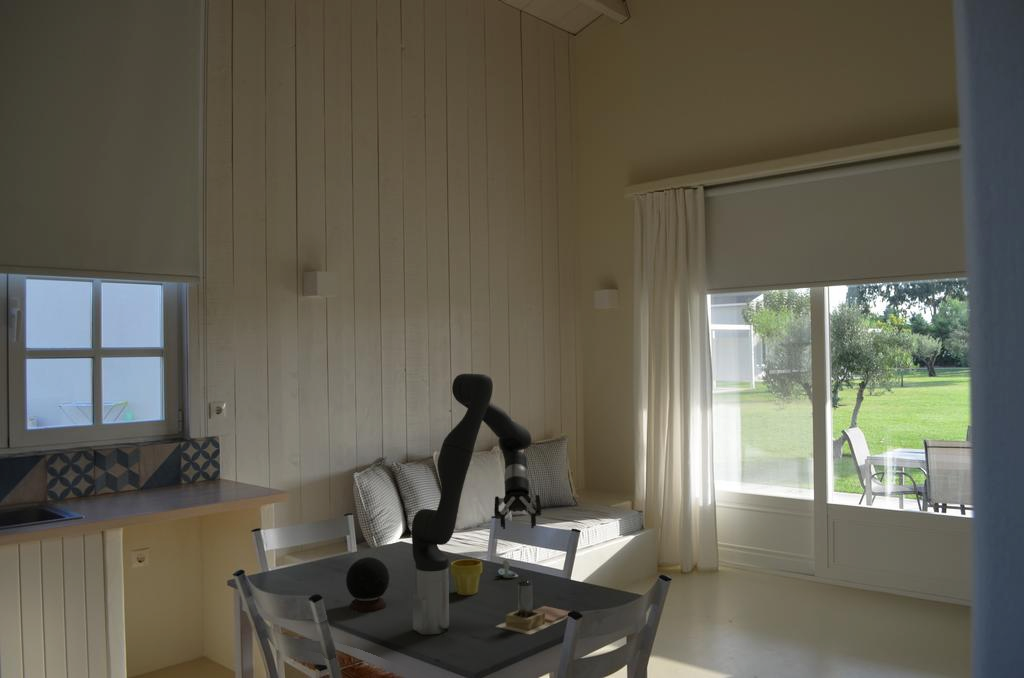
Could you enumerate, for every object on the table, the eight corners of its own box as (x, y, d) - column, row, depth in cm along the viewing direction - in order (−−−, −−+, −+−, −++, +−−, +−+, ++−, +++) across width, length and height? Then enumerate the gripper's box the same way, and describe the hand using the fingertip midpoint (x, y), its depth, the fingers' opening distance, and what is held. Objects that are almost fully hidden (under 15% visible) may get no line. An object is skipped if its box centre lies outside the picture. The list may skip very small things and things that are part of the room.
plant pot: (444, 594, 261) (444, 564, 261) (461, 587, 270) (461, 557, 270) (472, 598, 256) (472, 567, 256) (488, 590, 265) (488, 560, 266)
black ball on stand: (347, 615, 240) (347, 564, 241) (344, 602, 253) (344, 554, 253) (391, 611, 244) (391, 561, 244) (386, 599, 256) (386, 551, 257)
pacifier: (510, 574, 288) (496, 575, 285) (510, 556, 288) (496, 557, 285) (521, 578, 282) (507, 580, 278) (522, 560, 282) (507, 561, 279)
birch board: (530, 639, 217) (529, 623, 217) (495, 630, 224) (495, 615, 224) (576, 617, 235) (576, 603, 235) (543, 610, 242) (543, 596, 242)
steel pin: (523, 627, 222) (522, 584, 223) (515, 624, 226) (515, 580, 226) (535, 625, 225) (534, 581, 225) (527, 621, 228) (527, 578, 228)
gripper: (493, 476, 250) (494, 521, 238) (539, 474, 250) (542, 519, 238) (494, 489, 255) (495, 534, 243) (539, 488, 255) (542, 533, 244)
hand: (518, 527), depth 241 cm, fingers open, 8 cm apart
